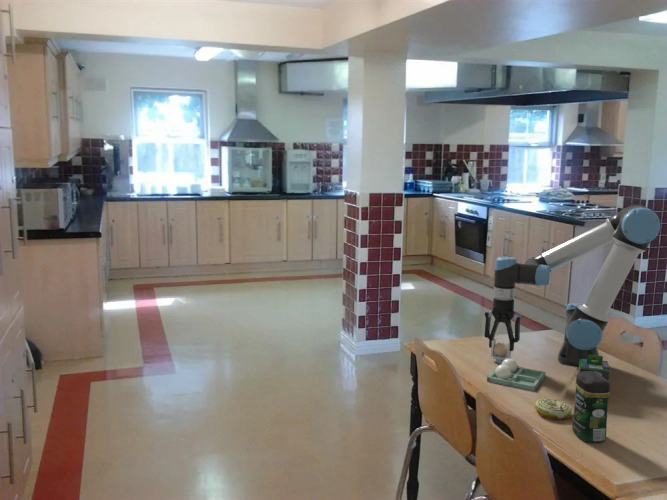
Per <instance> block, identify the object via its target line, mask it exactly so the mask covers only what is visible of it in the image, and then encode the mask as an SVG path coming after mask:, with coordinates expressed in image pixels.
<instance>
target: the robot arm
mask: <svg viewBox="0 0 667 500" xmlns="http://www.w3.org/2000/svg"><path fill="white" fill-rule="evenodd" d="M660 230H661V221H660V218H659V216H658V215H657V213H656V212H655V211H654V210H652V209H651V208H649V207H647V206H645V205H643V204H632V205H631V204H630V205H628V206H627V207H624V208H623V209H621V210H620V211H618V212H617V213H615V214H612V215H611V216H609V217H607V218H606V219H605V222H603V223H601V224H599V225H597V226H595V227H593V228H591V229H589V230H587V231H585V232H583V233H581V234H579V235H577V236H574V237H572V238H571V239H569V240H567V241H565V242H562V243H560V244H558V245H556V246H554V247H553V248H551V249H548V250H546V251H544V252H542V253H541V254H539V255H536V256H532V257H530V258H527V260H526V261H525V262H524V263H519V262H517V258H516V257H513V256H506V255H505V256H499V257H497V258H496V259H495V266H494V282H493V284H494V285H493V297H494V298H493V303H492V310H487V311H485V313H484V316H485V317H484V318H485V325H484V337H485V338H487V339H488V340H489V341H488V348H490V350H491V351H490V352H491V353H490V357H491V358H493V356H494V355H495V352H494V346H495V345H496V344H497V343H496V342H497V338H495V335H496V332H497V329H498V327H499V324H500V323H504V325H505V328H506V332H507V336H508V342H507V344H506V345H507V358H506V359H508V358H510V359H512V358H511V357H512V352H513V351H514V350H515V343H518V342H520V337H521V335H520V333H521V320H522V318H523V317H522V315H517V314H516V313H515V297H516V296H515V295H516V294H515V293H516V290H515V289H516V284H518V285H519V284H521V285H530V286H533V285H534V286H539V287H540V286H548V285H549V284H550V276H551V275H550V274H551V272H552V271H554V270H556V269H558V268H560V267H563V266H565V265H566V264H569V263H571V262H573V261H575V260H577V259H579V258H582V257H583V256H586V255H588V254H590V253H592V252H594V251H596V250H599V249H601V248H603V247H605V246H607V245H609V244H611V243H613V245H612V247H611V249H610V250H609V253H608V254H607V257H606V258H605V260H604V262H603V265H602V266H601V268H600V270H599V272H598V274H597V276H596V278H595V280H594V282H593V284H592V286H591V288H590V290H589V292H588V293H587V295H586V298H585V299H584V302H583V303H582V302H571V303H568V304H567V305H566V308H565V322H564V324H565V325H564V337H563V342H562V345H561V347H560V349H559V351H558V354H557V361H558V362H559V363H560V364H562V365H564V366H568V367H573V368H577V369H579V359H587V357H588V355H598V356H600V353H599V350H598V346H599V345H600V344H601V342H602V340H603V332H604V331H605V329H606V327H607V326H608V323H609V322H610V319H609V316H608V313H609V312H610V309H611V307H612V305H613V304H614V302H615V300H616V298H617V296H618V294H619V292H620V290H621V288H622V287H623V285H624V283H625V281H626V279H627V277H628V275H629V273H630V272H631V269H632V268H633V265H634V264H635V262H636V260H637V259H638V256H639V254H642V253H644V252H646V251H647V249H648V248H649V247H650V244H651V242H652V241H653V240H655V239H656V238H657V236H658V234H659V233H660ZM492 316H493V318H494V321H493V325H492V328H491V321H492V320H491V319H492V318H491V317H492ZM513 318H514V321H515V322H514V331H513V327H512V321H511V320H512V319H513ZM591 360H598V359H597V358H592V359H591Z"/></svg>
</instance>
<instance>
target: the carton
mask: <svg viewBox="0 0 667 500" xmlns="http://www.w3.org/2000/svg"><path fill="white" fill-rule="evenodd" d="M499 365H502V363H499ZM495 370H496V368H494V370H493V371H491V372H490V373H489V375H488V376H487V377H486V382H489V383H494V384H498V385H503V386H506V387H507V386H508V387H513V388H516V389H521V390H526V391H527V390H528V391H533V392H535V391H536V390H537V388H538V387H539V385H540V384H541V383H542V381H543V380H544V379H545V378H546V374H547V373H546V371H543V370H536V369H531V368H526V367H521V366H517V369H516V371H515V372H514V373H511V376H510V378H509V379H507V380H505V379H500V378H497V376H496V374H495Z"/></svg>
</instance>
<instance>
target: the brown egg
mask: <svg viewBox="0 0 667 500" xmlns="http://www.w3.org/2000/svg"><path fill="white" fill-rule="evenodd" d="M507 345H508V344H507V343H505V342H504V341H503V342H502V341H499V342H497V343H496V345H495V346H494V352H495V354H496V355H498V356H499V357H503V356H505V355H507Z"/></svg>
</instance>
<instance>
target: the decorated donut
mask: <svg viewBox="0 0 667 500" xmlns="http://www.w3.org/2000/svg"><path fill="white" fill-rule="evenodd" d="M534 404H535V405H534V409H535V411H536V413H537V414H538V415H539V416H542V417H543V418H545V419H548V420H549V419H550V420H557V421H558V420H561V421H564V420H567V419H569V418H571V416H572V411H573V408H572V407H571V405H570V404H568V403H566V402H565V401H563V400H560V399H556V398H550V397H548V398H547V397H544V398H540V399H538V400H536V402H535V403H534Z"/></svg>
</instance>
